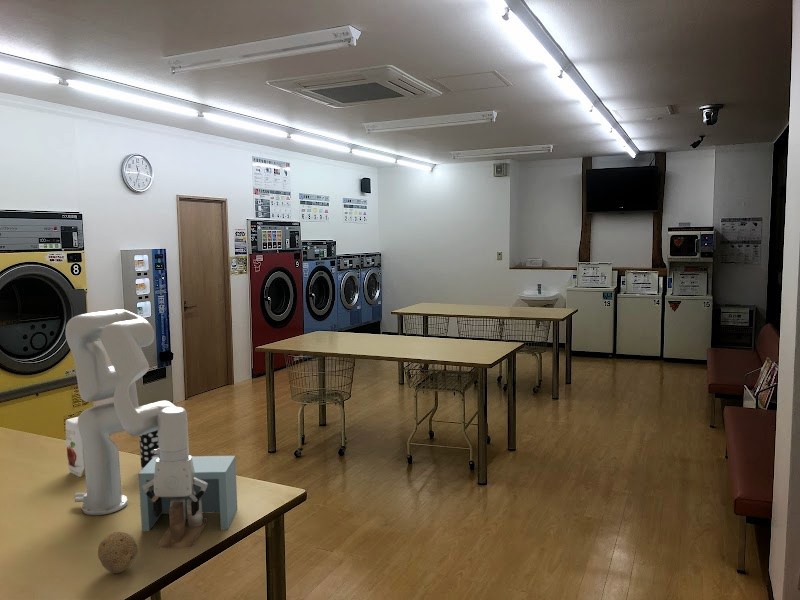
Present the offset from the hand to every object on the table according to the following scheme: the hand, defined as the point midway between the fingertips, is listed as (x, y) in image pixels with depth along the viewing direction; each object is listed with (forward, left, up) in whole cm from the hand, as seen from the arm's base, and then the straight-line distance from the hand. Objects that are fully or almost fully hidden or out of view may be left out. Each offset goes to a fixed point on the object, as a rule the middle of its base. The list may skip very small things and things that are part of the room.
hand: (176, 513), depth 170 cm
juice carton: (-48, +48, -8) cm, 68 cm away
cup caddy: (+1, +3, -8) cm, 8 cm away
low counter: (0, +11, -8) cm, 14 cm away
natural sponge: (-10, -15, -8) cm, 19 cm away
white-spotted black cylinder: (-24, +49, -8) cm, 55 cm away
